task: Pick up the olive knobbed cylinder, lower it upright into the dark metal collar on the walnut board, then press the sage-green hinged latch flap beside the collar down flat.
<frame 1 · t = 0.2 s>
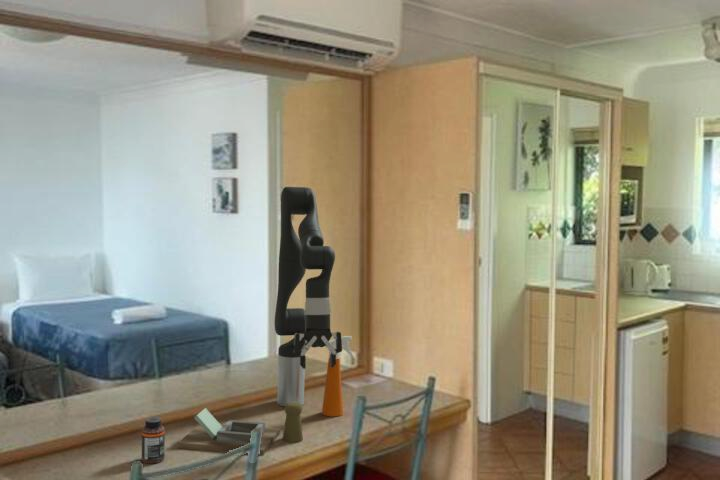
hand: (317, 367, 210), 22 cm above the counter, tool pointing down, fingers open, 8 cm apart
supplement bottle: (152, 460, 191), on the counter
latch flap: (209, 423, 207), point 5 cm above the counter, hinge at 45.0°
olive knobbed cylinder: (292, 439, 210), on the counter
spray bottle: (338, 414, 236), on the counter
holder board: (241, 442, 206), on the counter
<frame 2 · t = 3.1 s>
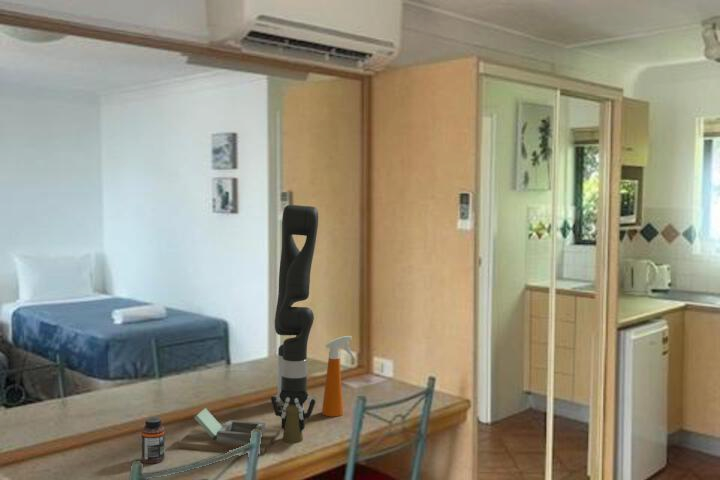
hand: (292, 430, 210), 3 cm above the counter, tool pointing down, fingers closed on olive knobbed cylinder, 4 cm apart
olive knobbed cylinder: (292, 439, 210), on the counter, touching gripper
everything else where it was.
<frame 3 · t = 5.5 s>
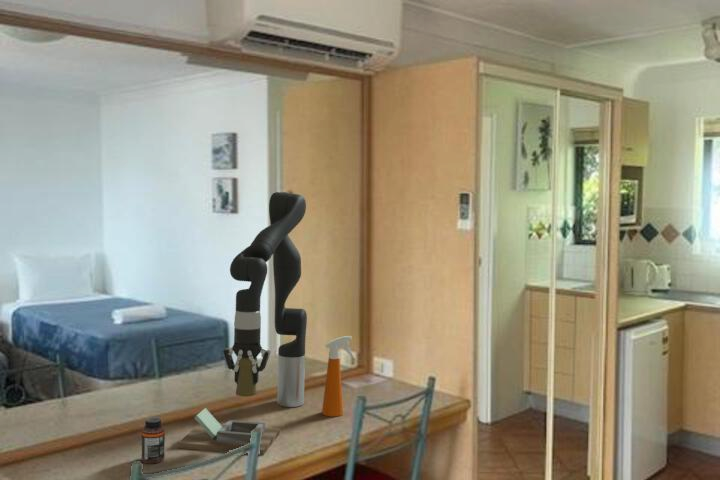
hand: (246, 384, 205), 17 cm above the counter, tool pointing down, fingers closed on olive knobbed cylinder, 4 cm apart
olive knobbed cylinder: (246, 394, 205), point 14 cm above the counter, touching gripper
everything else where it was.
when the fingers open (6 cm above the counter, at t = 8.2 s): olive knobbed cylinder drops 1 cm, resting on holder board.
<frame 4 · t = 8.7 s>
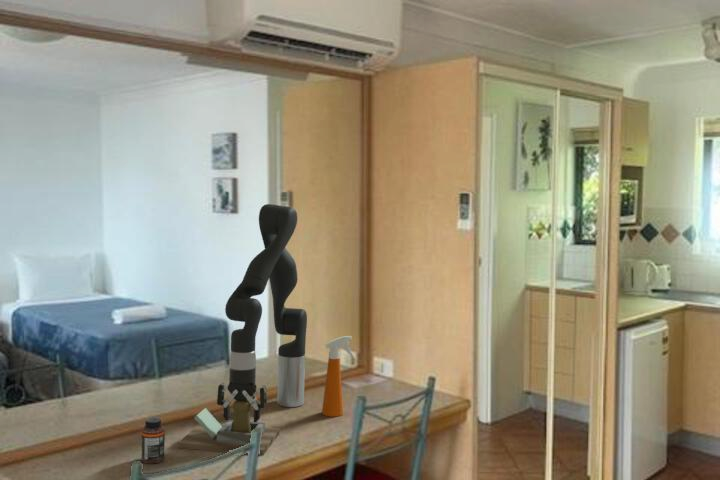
hand: (241, 420, 206), 7 cm above the counter, tool pointing down, fingers open, 8 cm apart
olive knobbed cylinder: (241, 438, 206), point 1 cm above the counter, touching holder board
everything else where it was.
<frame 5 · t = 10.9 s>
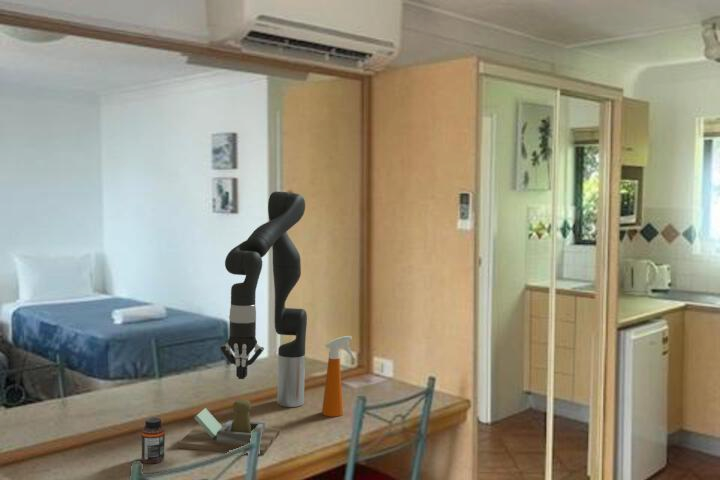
hand: (241, 378, 205), 19 cm above the counter, tool pointing down, fingers closed
nothing on the counter moved.
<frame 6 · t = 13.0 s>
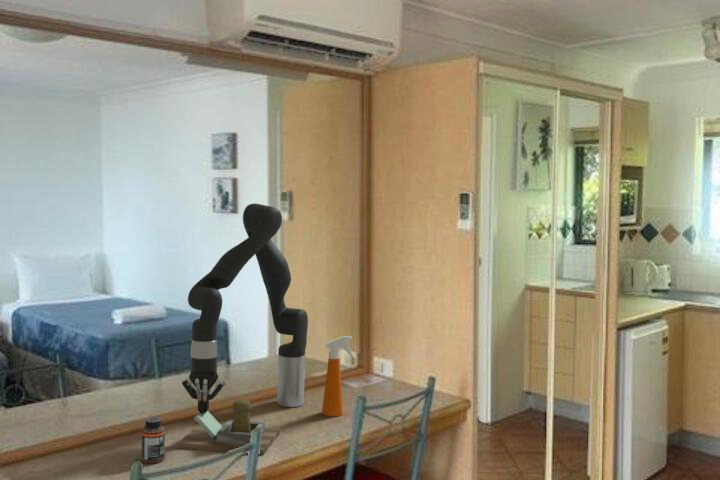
hand: (203, 412, 207), 8 cm above the counter, tool pointing down, fingers closed
latch flap: (209, 423, 207), point 5 cm above the counter, hinge at 44.5°, touching gripper
everything else where it was.
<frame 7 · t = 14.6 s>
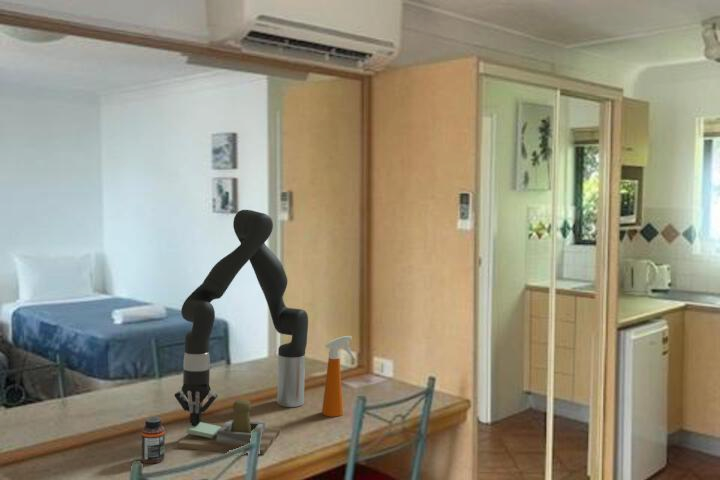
hand: (195, 424, 208), 4 cm above the counter, tool pointing down, fingers closed
latch flap: (204, 429, 208), point 3 cm above the counter, hinge at 7.4°
everything else where it was.
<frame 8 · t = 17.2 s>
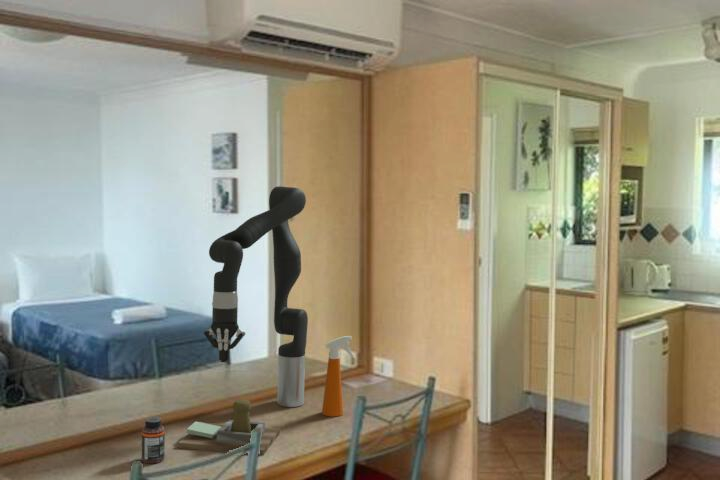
hand: (224, 361, 216), 21 cm above the counter, tool pointing down, fingers closed
nothing on the counter moved.
at the end: olive knobbed cylinder 0.1 cm off-centre on the holder board, point 1.3 cm above the holder board's base; olive knobbed cylinder tilted 0°; latch flap at +7° (first picture: +45°) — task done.
